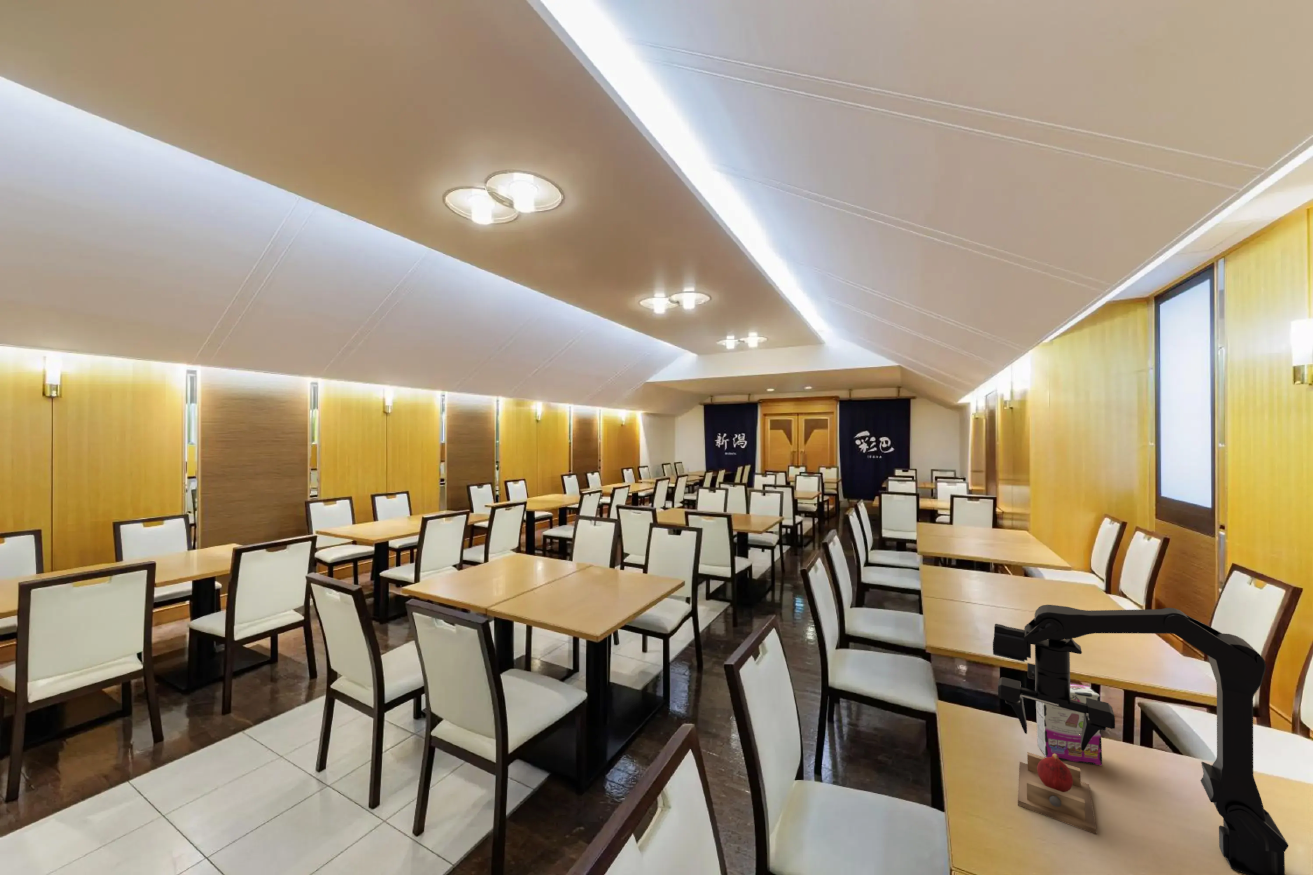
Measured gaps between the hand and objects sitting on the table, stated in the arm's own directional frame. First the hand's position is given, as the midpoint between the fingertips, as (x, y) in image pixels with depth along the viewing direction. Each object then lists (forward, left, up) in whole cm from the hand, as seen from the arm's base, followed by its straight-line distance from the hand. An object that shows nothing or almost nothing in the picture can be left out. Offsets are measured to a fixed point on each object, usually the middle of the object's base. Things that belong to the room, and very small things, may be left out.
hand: (1053, 740), depth 101 cm
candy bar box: (-3, -19, -12) cm, 23 cm away
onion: (0, 0, -11) cm, 11 cm away
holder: (0, 0, -12) cm, 12 cm away
